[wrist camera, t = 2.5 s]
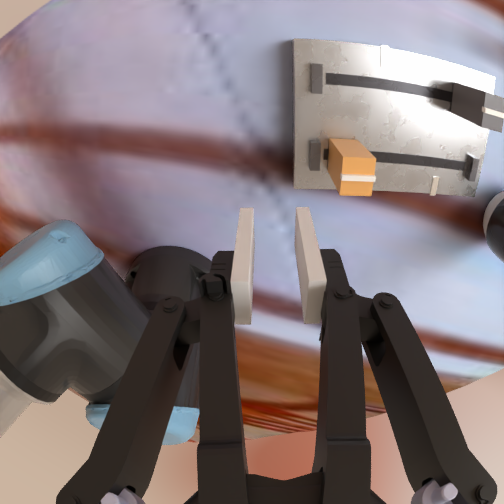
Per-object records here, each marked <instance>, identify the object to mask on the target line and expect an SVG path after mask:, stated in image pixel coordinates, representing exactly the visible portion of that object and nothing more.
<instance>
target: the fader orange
mask: <svg viewBox="0 0 504 504" xmlns="http://www.w3.org/2000/svg"><path fill="white" fill-rule="evenodd" d="M375 166H376V158H375V157H374V156H373V155H372V154H371V153H370V152H369V151H368V150H367V149H366V148H365V147H364V146H363V145H362V144H361V143H360V142H359V141H358V140H354V139H335V138H329V155H328V173H329V175H330V177H331V179H332V181H333V183H334V185H335V187H336V189H337V191H338V193H339V195H349V196H371V195H372V188H373V182H375V181H376V176H375V175H374V173H375Z"/></svg>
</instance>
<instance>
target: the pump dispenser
mask: <svg viewBox="0 0 504 504" xmlns="http://www.w3.org/2000/svg"><path fill="white" fill-rule="evenodd" d="M483 228H484V233H485V237H486V240H487V244H488V246H489V248H490V249H491V251H492V252H493V253H494V254H495V255H496V256H497V257H498V258H499V259H500V260H501V261H502V262H503V263H504V191H502V192H500V193H498V194H497V195H496V196H495V197H494V198H493V199H492V200H491V201H490V202H489V204H488V206H487V208H486V210H485V214H484V219H483Z"/></svg>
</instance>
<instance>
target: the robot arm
mask: <svg viewBox="0 0 504 504" xmlns="http://www.w3.org/2000/svg"><path fill="white" fill-rule="evenodd" d="M254 250H255V241H254V216H253V208H240V214H239V221H238V229H237V236H236V243H235V251H218V252H217V253H216V254H215V255H214V256H213V259H212V262H211V261H210V260H209V259H207V258H206V257H204V256H203V255H201V254H199V253H197V252H194V251H192V250H189V249H185V248H181V247H173V246H163V247H157V248H153V249H150V250H147V251H145V252H144V253H142V254H141V255H139V256H138V257H137V258H136V259H135V261H134V262H133V264H132V266H131V268H130V270H129V272H128V274H127V276H126V280H125V283H124V281H123V280H122V279H121V278H120V276H119V275H118V274H117V273H116V271H115V270H114V269H113V268H112V266H111V265H110V264H109V263H108V261H107V260H106V259H105V258H104V253H103V252H102V251H101V250H100V249H99V248H97V247H96V246H95V245H94V244H93V243H92V242H91V241H90V239H89V238H88V237H87V236H86V234H85V233H84V232H83V231H82V230H81V228H80V227H79V226H78V225H77V224H76V223H74V222H72V221H69V220H57V221H54V222H52V223H49V224H47V225H45V226H44V227H42V228H40V229H39V230H37V231H35V232H34V233H32V234H31V235H29V236H28V237H26V238H25V239H23V240H22V241H21V242H19V243H18V244H16V245H15V246H14V247H13V248H11V249H10V250H9V251H8V252H6V253H5V254H4V255H3V256H2V257H1V258H0V438H1V436H2V435H3V434H4V433H5V432H6V431H7V430H8V428H9V427H10V426H11V425H12V424H13V423H14V422H15V421H16V419H17V418H18V417H19V416H20V415H21V414H22V413H23V412H24V410H25V409H26V408H27V407H28V406H29V405H30V404H31V403H32V402H35V403H41V404H52V403H53V402H55V401H56V400H57V399H58V397H60V395H62V393H64V392H65V391H66V390H67V389H68V388H70V387H71V388H72V389H74V390H75V391H77V392H78V393H79V394H81V395H82V396H83V397H85V398H86V399H87V400H88V401H89V404H88V405H87V406H86V418H87V420H88V421H89V423H90V424H91V425H93V426H94V427H96V428H98V429H99V430H100V432H99V434H98V436H97V439H96V441H95V444H94V447H93V449H92V452H91V454H90V457H89V459H88V460H87V461H86V462H85V463H84V465H83V466H82V467H81V468H80V469H79V470H78V471H77V472H76V474H75V475H74V476H73V477H72V478H71V479H70V480H69V481H68V483H67V484H66V485H65V486H64V487H63V488H62V490H60V492H59V494H58V495H57V498H56V504H145V502H144V501H143V500H142V497H143V496H144V494H145V492H146V490H147V488H148V486H149V483H150V481H151V478H152V475H153V472H154V468H155V465H156V462H157V459H158V455H159V452H160V449H161V446H162V445H173V444H180V443H183V442H186V441H187V440H189V439H190V438H191V437H192V436H193V435H194V432H195V428H196V424H197V420H198V416H199V418H200V442H199V444H198V447H197V471H198V491H197V492H196V493H195V494H194V495H193V496H191V498H189V499H188V500H187V501H186V502H185V503H184V504H386V503H385V502H384V501H383V500H382V499H381V498H379V497H378V496H377V495H376V494H375V493H374V492H373V491H372V490H371V489H370V484H371V483H370V482H371V445H370V441H369V440H368V439H367V437H366V412H365V388H364V371H363V356H362V345H363V347H364V350H365V352H366V355H367V358H368V360H369V363H370V366H371V369H372V371H373V374H374V377H375V380H376V382H377V385H378V388H379V391H380V394H381V397H382V399H383V402H384V405H385V408H386V411H387V414H388V417H389V420H390V423H391V426H392V429H393V432H394V436H395V439H396V442H397V445H398V449H399V452H400V455H401V458H402V462H403V465H404V469H405V472H406V475H407V477H408V480H409V482H410V484H411V486H412V488H413V490H414V492H415V494H414V496H413V497H412V501H411V504H493V502H494V500H495V499H496V495H497V485H496V483H495V481H494V479H493V478H492V477H491V476H490V475H489V473H488V472H487V471H486V470H485V469H484V467H483V466H482V465H481V464H480V463H479V461H478V460H477V459H476V458H475V456H474V455H473V454H472V453H471V452H470V451H469V449H468V447H467V444H466V442H465V439H464V436H463V434H462V431H461V429H460V426H459V424H458V421H457V419H456V416H455V414H454V411H453V409H452V407H451V404H450V402H449V400H448V398H447V395H446V393H445V391H444V388H443V386H442V384H441V382H440V380H439V378H438V375H437V373H436V371H435V369H434V367H433V365H432V363H431V361H430V359H429V357H428V355H427V353H426V351H425V349H424V347H423V345H422V343H421V341H420V339H419V337H418V335H417V333H416V331H415V329H414V327H413V325H412V323H411V322H410V320H409V318H408V316H407V314H406V312H405V311H404V309H403V307H402V305H401V303H400V301H399V300H398V299H397V298H396V297H395V296H394V295H392V294H389V293H378V294H376V295H375V296H374V298H373V299H371V298H366V297H362V296H359V295H357V294H356V293H355V290H354V289H353V288H352V287H350V286H349V283H348V280H347V276H346V273H345V270H344V268H343V263H342V260H341V257H340V255H339V253H338V252H337V251H336V250H335V249H319V245H318V241H317V237H316V233H315V229H314V225H313V221H312V218H311V214H310V210H309V207H296V223H295V253H296V260H297V268H298V275H299V283H300V291H301V300H302V308H303V317H304V324H311V323H320V319H322V328H321V333H320V338H319V341H321V352H320V381H319V402H318V419H317V434H316V446H315V457H314V463H313V467H312V473H310V474H307V475H304V476H300V477H297V478H293V479H289V480H278V479H273V478H268V477H264V476H259V475H255V474H248V466H247V459H246V450H245V439H244V429H243V419H242V408H241V397H240V386H239V375H238V363H237V351H236V339H235V328H234V322H235V324H251V316H252V295H253V273H254ZM361 342H362V344H361Z"/></svg>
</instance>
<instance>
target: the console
mask: <svg viewBox="0 0 504 504" xmlns="http://www.w3.org/2000/svg"><path fill="white" fill-rule="evenodd" d="M292 57H293V179H292V182H293V187H294V189H336V187H335V185H334V183H333V181H332V179H331V177H330V175H329V173H328V155H329V138H335V139H354V140H358V141H359V142H360V143H361V144H362V145H363V146H364V147H365V148H366V149H367V150H368V151H369V152H370V153H371V154H372V155H373V156H374V157H375V158H376V166H375V173H374V175H375V176H376V181H375V182H373V188H372V190H376V191H398V192H416V193H430V195H432V196H435V195H436V194H445V195H457V196H468V197H475V193H476V189H477V185H478V181H479V177H480V173H481V168H482V164H483V159H484V154H485V149H486V144H487V138H488V133H489V129H486V128H482V127H480V126H478V125H476V124H474V123H472V122H470V121H468V120H466V119H464V118H461V117H459V116H457V115H455V114H453V113H451V105H452V95H453V84H454V82H455V83H458V84H462V85H466V86H469V87H472V88H475V89H479V90H482V91H485V92H488V93H491V94H494V84H495V77H493V76H490V75H487V74H484V73H482V72H479V71H476V70H473V69H470V68H467V67H464V66H461V65H457V64H454V63H451V62H447V61H443V60H440V59H436V58H432V57H428V56H424V55H420V54H415V53H411V52H406V51H401V50H396V49H391V48H389V46H385V45H381V47H379V46H373V45H366V44H358V43H350V42H341V41H330V40H316V39H292Z"/></svg>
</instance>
